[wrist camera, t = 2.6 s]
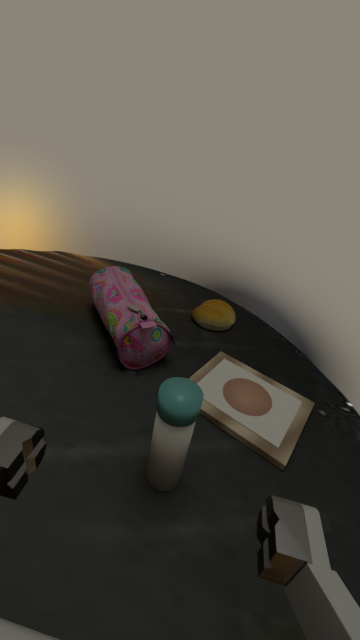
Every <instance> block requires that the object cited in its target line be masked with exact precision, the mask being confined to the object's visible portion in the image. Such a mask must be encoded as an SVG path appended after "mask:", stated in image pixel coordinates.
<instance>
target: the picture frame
mask: <svg viewBox="0 0 360 640" xmlns="http://www.w3.org/2000/svg"><path fill="white" fill-rule="evenodd" d="M189 380H192V381H193V382H195V383H196V384H197V385H199V387H200V388H201V389H202V391H203V395H204V398H203V402H202V406H201V409H200V413H199V414H200V415H202V416H203V417H205V418H206V419H208V420H209V421H211V422H212V423H214V424H215V425H216V426H218V427H219V428H221V429H222V430H224V431H225V432H227V433H228V434H230V435H231V436H232V437H234V438H235V439H237V440H238V441H240V442H241V443H243V444H244V445H246V446H247V447H249V448H250V449H251V450H253V451H254V452H256V453H257V454H259V455H260V456H262V457H263V458H265V459H266V460H267V461H269V462H270V463H272V464H273V465H275V466H276V467H278V468H279V469H281V470H282V471H283V470H284V468H285V466H286V464H287V462H288V460H289V458H290V455H291V453H292V451H293V449H294V447H295V445H296V443H297V440H298V438H299V436H300V434H301V432H302V430H303V427H304V425H305V423H306V421H307V419H308V417H309V415H310V412H311V410H312V408H313V406H314V404H315V403H314V402H312V401H310V400H309V399H307V398H305V397H303V396H301V395H299V394H298V393H296V392H294V391H292V390H290V389H288V388H287V387H285V386H283V385H281V384H279V383H278V382H276V381H274V380H272V379H270V378H268V377H267V376H265V375H263V374H261V373H259V372H258V371H256V370H254V369H252V368H250V367H248V366H247V365H245V364H243V363H241V362H239V361H237V360H236V359H234V358H232V357H230V356H228V355H227V354H225V353H223V352H220V353H218V354H217V355H216V356H215V357H214V358H213V359H211V360H210V361H209V362H208V363H207V364H205V365H204V366H203V367H202V368H201V369H200V370H198V371H197V372H196V373H195V374H194V375H193V376H191V377H190V378H189Z"/></svg>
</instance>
